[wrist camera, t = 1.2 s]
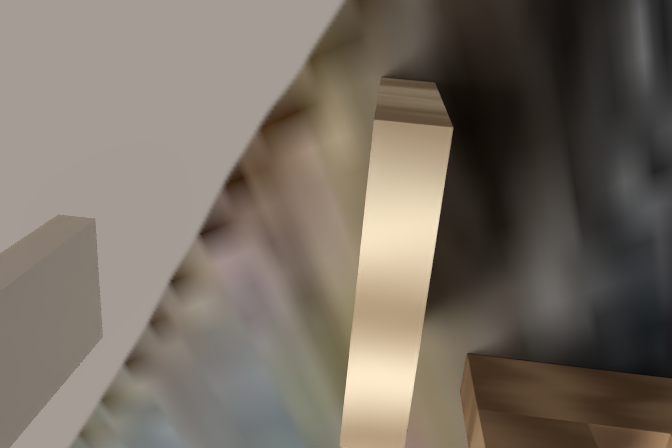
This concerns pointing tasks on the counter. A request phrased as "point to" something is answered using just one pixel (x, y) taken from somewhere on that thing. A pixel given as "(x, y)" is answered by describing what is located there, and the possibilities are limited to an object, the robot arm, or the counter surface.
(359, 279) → the maple plate
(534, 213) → the counter surface
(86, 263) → the robot arm
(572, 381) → the walnut board
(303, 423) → the counter surface
